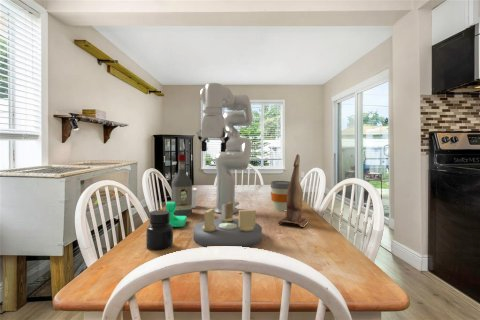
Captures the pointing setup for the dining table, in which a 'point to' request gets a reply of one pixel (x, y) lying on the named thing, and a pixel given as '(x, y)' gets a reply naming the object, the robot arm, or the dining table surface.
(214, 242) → the tribrach base
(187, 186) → the liquor
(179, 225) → the camera mount
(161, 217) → the ink bottle
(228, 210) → the footscrew knob
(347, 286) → the dining table surface
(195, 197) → the white cup
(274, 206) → the reusable coffee cup
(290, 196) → the bird sculpture
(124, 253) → the dining table surface
